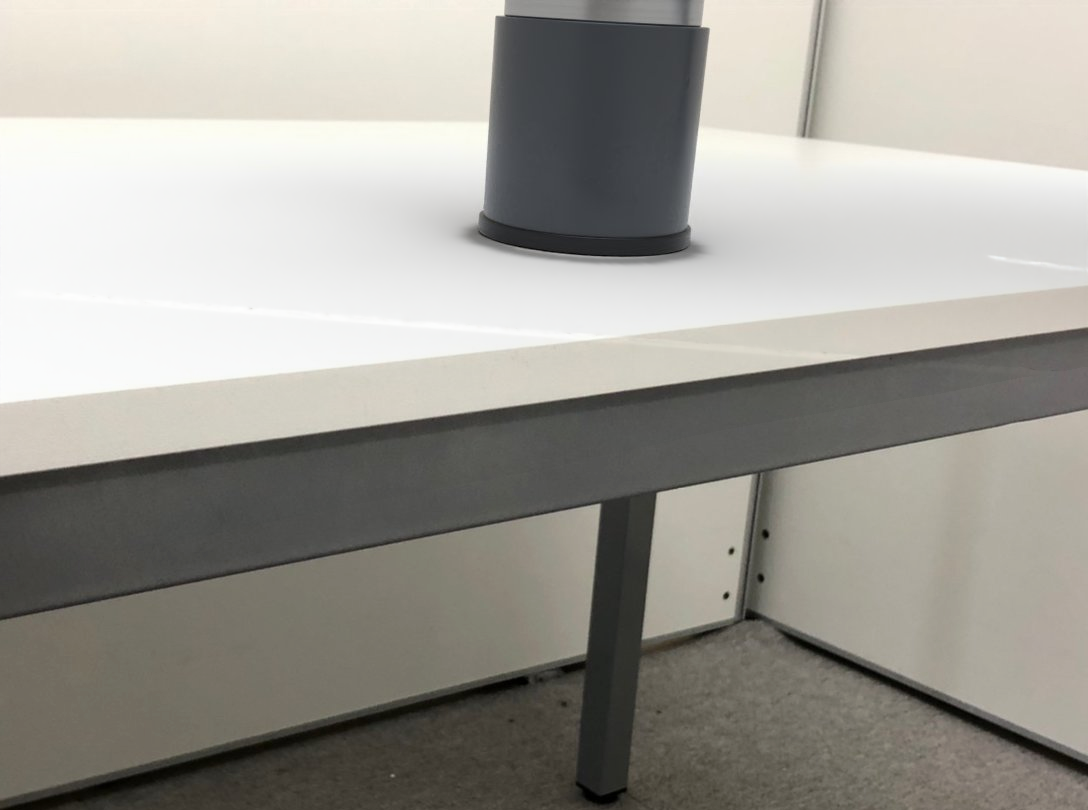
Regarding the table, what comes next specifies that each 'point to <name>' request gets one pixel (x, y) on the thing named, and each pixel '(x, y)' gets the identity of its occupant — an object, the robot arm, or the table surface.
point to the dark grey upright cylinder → (594, 125)
